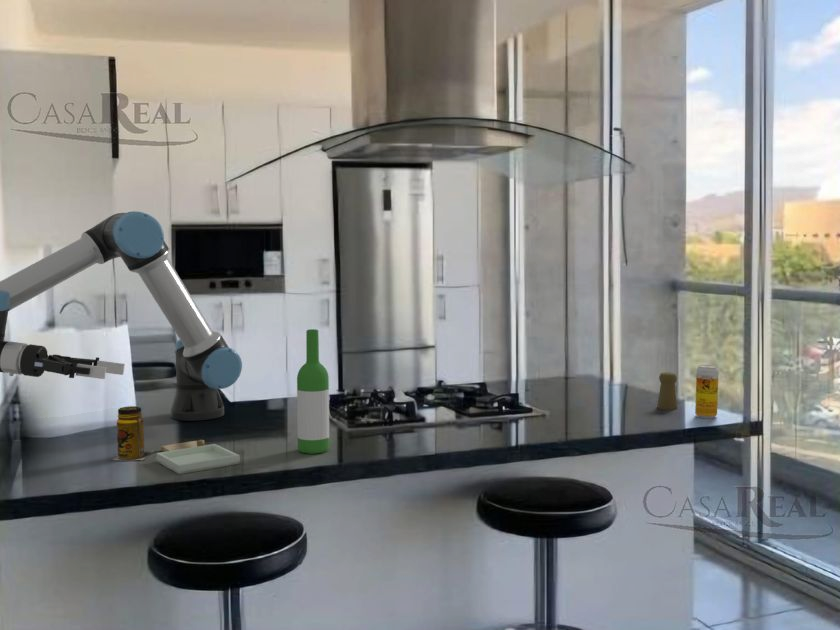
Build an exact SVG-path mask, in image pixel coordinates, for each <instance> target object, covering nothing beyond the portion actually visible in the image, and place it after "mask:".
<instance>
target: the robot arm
mask: <svg viewBox="0 0 840 630" xmlns="http://www.w3.org/2000/svg"><path fill="white" fill-rule="evenodd" d="M164 239H165V233H164V229H163V227H162V225H161V224H160V222H159V221H158V220H157V219H156V218H155V217H153V216H152V215H150V214H148V213H145V212H142V211H135V210H134V211H128V212H119V213H115V214H112V215H111V216H108V217H107V218H105V219H104V220H102V221H101V222H98V224H96V225H94V226H93V227H91V228H90V229H87V230H86V231H84V232H82V233H81V237H80V238H78V239H77V240H75V241H74V242H71V243H69V244H68V245H66V246H64V247H62V248H60V249H58V250H56V251H54V252H52V253H51V254H48V256H47V255H46V256H45V257H44V258H41V259H40V260H38V261H36V262H34V263H32V264H30V265H29V266H26V267H25V268H23V269H21V270H19V271H18V272H16V273H14V274H11V275H10V276H8V277H6V278H4V279H2V280H0V373H7V374H8V375H9V377H13V376H14V375H23V376H27V377H33V378H34V377H35V378H40V377H41V376H42V375H43V374H44V373H45V372H48V373H52V374H53V373H54V374H60V375H64V376H68V378H69V379H75V377H78V376H79V377H83V378H91V379H92V378H93V379H101V380H105V379H106V374H112V375H119V376H123V375H124V372H125V363H119V362H113V361H112V362H111V361H106V360H100V357H95V359H93V358H91V359H90V358H80V357H71V356H66V355H60V354H48V350H47V348H46V346H43V345H38V344H30V343H29V344H28V343H25V342H19V341H18V342H17V341H16V342H15V341H7V340H5V336H6V330H7V329H6V328H7V323H8V314H9V312H10V311H12V310H13V309H16V308H17V307H19V306H21V305H23V304H24V303H26V302H28V301H29V300H32V299H34V298H35V297H37V296H39V295H41V294H43V293H45V292H46V291H48V290H49V289H51V288H55V286H57V285H59V284H61V283H62V282H64V281H66V280H68V279H70V278H71V277H73V276H76V275H78V274H79V273H80V272H83V271H85V270H86V269H88V268H90V267H92V266H94V265H95V264H98V265H103V264H106V263H108V262H109V261H110V260H114V259H117V258H121V260H122V261H123V263H124V265H125V267H126V268H127V269H128V271H129V272H131V273H136V274H138V275H139V277H140V278H141V281H142V282H143V283H144V285H145V286H146V288H147V289H148V291H149V293H150V294H151V296H152V297H153V299H154V301H155V303H156V304H157V305H158V307H159V309H160V310H161V312H162V313H163V315H164V316H165V319H166V320H167V321H168V323H169V325H170V326H171V328H172V330H173V331H174V332H175V334H176V336H177V337H178V339H179V340H177V341H176V343H175V350H174V353H175V370H176V372H175V373H176V374H175V375H176V376H175V377H176V392H175V396H174V399H173V401H172V402H173V403H172V405H171V408H170V409H171V410H170V417H171V418H172V419H174V420H178V421H187V422H190V421H191V422H192V421H207V420H213V419H217V418H221V417H223V416H224V415H225V405H224V403H223V400H222V397H221V394H220V392H219V390H223V389H228V388H230V387H231V386H232V385H234V384H235V383H236V382H237V381H238V379H239V378H240V376H241V373H242V369H243V362H242V358H241V357H240V354H238V352H237V351H236V350H235V349H233V348H231V347H229V345H228V344H227V342H226V341H225V339H224V338H223V336H222V334H221V333H220V332H218V331H214V330H212V328H211V326H210V325H209V323H208V322H207V320H206V318H205V316H204V315H203V313H202V312H201V310H200V309H199V307H198V305H197V303H196V302H195V300H194V299H193V297H192V296H191V294H190V292H189V290H188V288H187V287H186V285H185V284H184V282H183V280H182V279H181V277H180V276H179V274H178V272H177V271H176V269H175V267H174V266H173V264H172V262H171V261H170V259H169V258H168V256H169V253H170V248H169V247H168V245H167V243H166V241H165V240H164Z"/></svg>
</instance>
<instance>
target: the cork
mask: <svg viewBox="0 0 840 630" xmlns="http://www.w3.org/2000/svg"><path fill="white" fill-rule="evenodd" d="M658 378H659V379H658V380H659V381H660V387H659V392H658V400H657V406H656V408H657V407H658V408H657V409H661V410H668V411H669V410H671V411H672V410H677V409H678V402H677V393H676V383H677V379H678V377H677V375H676V373H674V372H669V371H663V372H662V373H660V374H659V377H658Z"/></svg>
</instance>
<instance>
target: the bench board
mask: <svg viewBox="0 0 840 630" xmlns="http://www.w3.org/2000/svg"><path fill="white" fill-rule="evenodd" d="M205 445H206V444H205V440H204V439H198V440H193V441H192V440H191V441H185V442H180V443H179V442H178V443H173V444H172V443H171V444H166V445H161V446H160V447H161V449H160V451H162V452H167V451H173V450H179V449H186V448H192V447H198V446H205Z"/></svg>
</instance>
